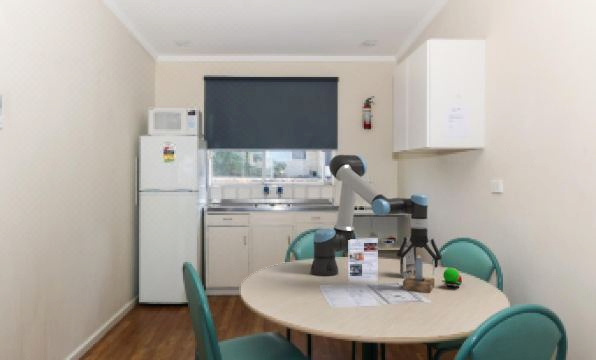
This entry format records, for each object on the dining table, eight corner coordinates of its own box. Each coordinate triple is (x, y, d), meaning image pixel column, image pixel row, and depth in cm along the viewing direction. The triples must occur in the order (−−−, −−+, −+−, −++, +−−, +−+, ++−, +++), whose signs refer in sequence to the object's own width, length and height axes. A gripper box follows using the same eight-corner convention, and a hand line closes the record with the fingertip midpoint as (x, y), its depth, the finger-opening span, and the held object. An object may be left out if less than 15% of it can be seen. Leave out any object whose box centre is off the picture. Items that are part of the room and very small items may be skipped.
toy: (445, 290, 207) (440, 280, 196) (447, 274, 211) (441, 264, 200) (463, 292, 203) (459, 282, 192) (465, 276, 207) (460, 265, 195)
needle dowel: (414, 288, 197) (414, 256, 197) (416, 287, 200) (416, 255, 200) (421, 289, 196) (421, 256, 196) (423, 287, 198) (423, 255, 198)
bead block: (403, 289, 195) (403, 281, 195) (409, 283, 206) (409, 275, 206) (429, 292, 190) (429, 284, 190) (434, 286, 200) (434, 278, 200)
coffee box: (416, 278, 216) (416, 247, 216) (403, 278, 216) (403, 247, 216) (411, 274, 225) (411, 244, 225) (399, 274, 226) (399, 244, 225)
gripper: (390, 226, 200) (390, 271, 200) (445, 230, 188) (445, 277, 189) (394, 225, 207) (394, 268, 207) (448, 228, 195) (448, 273, 195)
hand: (419, 272), depth 198 cm, fingers open, 13 cm apart
